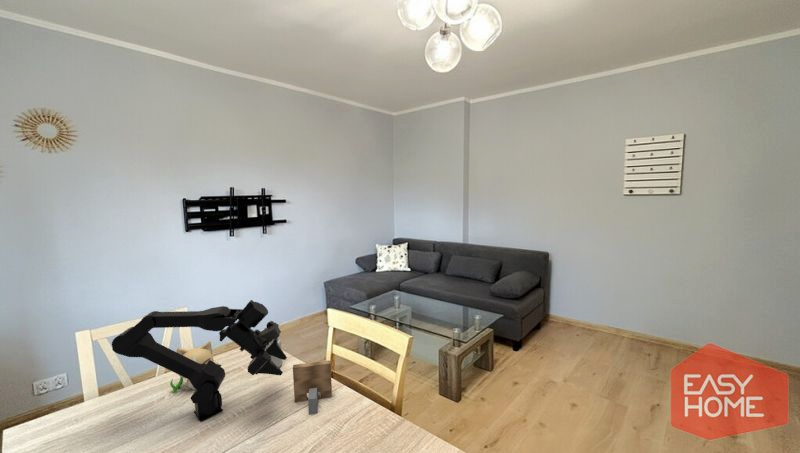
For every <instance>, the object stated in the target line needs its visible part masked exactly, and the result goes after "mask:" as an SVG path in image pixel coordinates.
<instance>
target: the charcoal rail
mask: <svg viewBox="0 0 800 453" xmlns="http://www.w3.org/2000/svg"><path fill="white" fill-rule="evenodd" d="M319 394H320V392H317V388H311V389H309V393H308V395H307V401H308V402H307V403H308V404H307V406H308V408H307V409H308V415H313V414H317V413H318V406H319V404H318V403H319Z"/></svg>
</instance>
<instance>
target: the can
mask: <svg viewBox="0 0 800 453" xmlns="http://www.w3.org/2000/svg"><path fill="white" fill-rule="evenodd" d="M278 345H279V346H280V348H281V349H282V339H281V338H280V336H279V337H278ZM269 356H270V355H269ZM271 359H272V362H273V363H274V364H275V365H276V366H277V367H278V368H279V369H280V367H281V366H282V364H283V360H282V359H279V358H277V357H274V356H271Z"/></svg>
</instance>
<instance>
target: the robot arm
mask: <svg viewBox="0 0 800 453" xmlns="http://www.w3.org/2000/svg"><path fill="white" fill-rule="evenodd" d="M268 314H269V310H268V308H267V307H266V306H265V305H264V304H262V303H260V302H258V301H254V300H252V299H250V300H249V301H248V302H247V304H246V305H245V306H244V307H243V308H242V309H239V308H238V309H237V308H229V307H228V306H225V305H222V306H216V307H211V308H207V309H204V310H198V311H197V310H196V311H195V310H193V311H191V310H190V311H189V310H188V311H158V310H154V311H151V312H149V313H148V314H146V315H144V316H143V317H142V318H141V320H140V321H139V322H138V323H136V324H135V325H134V326H131V327H129V328H126V330H124V331H123V332H121V333H120V334H118V335H117V336H116V337H114V338H113V339H112V341H111V347H112V351H113V352H115V354H118V355H121V356H124V357H127V358H143V359H145V360H147V361H149V362H152V363H154V364H156V365H158V366H159V367H162V368H164V369H166V370H168V371H171V372H172V373H173V374H174V373H175V374H177V375H178V376H179V375H181V376H183V377H185V378H184V379H186V380H187V379H188V380H189V381H190V382H191V384H192V385H193V387H194V388H195V389H196V390H194V392H193V393H192V395H191V397H190V400H191V402H192V404H194V409H195V410H194V411H193V414H194V415H195V417H196V418H197V420H198V421H199V422H201V423H202V422H204V421H205V420H208V419H210V418H211V417H214V416H216V415H218V414H220V413H222V412H223V411H224V409H223V408H222V407H223V397H222V394H221V392H220V391H219V389H220V387H221V385H222V384H223V381H224V379H225V377H226V371H225V369H224V368H223V367H222V364H219V365H218V364H216V363H214V362H215V361H214V362H213V361H211V360H209V361H208V363H207V364H200V363H197V362H195V361H193V360H191V359H189V358H187V357H185V356H183V355H181V354H179V353H177V352H176V351H175V350H173V349H171V348H169V347H167V346H164V345H162V344H161V343H158V342H157V341H156V340H155V338H154V337H153V335H152V334H151V333H150V332H151V330H152V329H156V328H157V329H160V328H162V329H163V328H166V329H167V328H200V329H202V330H204V331H209V332H218V335H219V342H223V341H224V340H225V338H228V339H229V340H230V341H232V342H233V343H235V344H236V345H237V346H239V347H240V348H239V351H240V352H243V351H244V350H245V352H247V353H248V354H249V355H250V357H249V358H250V359H251V360H250V362H249V364H248V365H247V373H249V374H250V375H251V376H254V375H258V374H262V375H263V374H264V375H275V376H282V375H283V373H284V372H283V371H282V369H281V368H280V367H279V368H278V367H277V366H276V365H275V364H274V363H273V362H272V359H271V356H274V357H277V358H279V359H282V361H286V360H287V358H288V357H287V356H286V354H285V353H284V351H283V349H282V347H281V348H280V346H279V345H278V337H279V338H280V336H281V332H282V330H281V328H279V326H280V324H278V323H277V322H274V321H272V320H270V321H268V322H267V324H266V327H264V329H263V330H260V329H255V330H253V328H256V327H257V326H258V325H259V324H260V323H261V322H262V321H263V319H265V317H266V316H267V315H268ZM269 355H270V356H269Z"/></svg>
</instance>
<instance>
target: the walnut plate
mask: <svg viewBox="0 0 800 453" xmlns="http://www.w3.org/2000/svg"><path fill="white" fill-rule="evenodd" d="M331 364H332V362H331V360H321V361H314V362H306V363H298V364H293V365H292V376H293V377H292V378H293V380H292V381H293V393H294V394H293V395H294V396H293V397H294V403H299V402H306V401H308V394H309V389H311V388H317V392H319V395H320V396H319V397H320V399H327V398H329V399H330V398H333V389H332V388H333V387H332V386H333V385H332V369H331V367H332V365H331Z"/></svg>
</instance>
